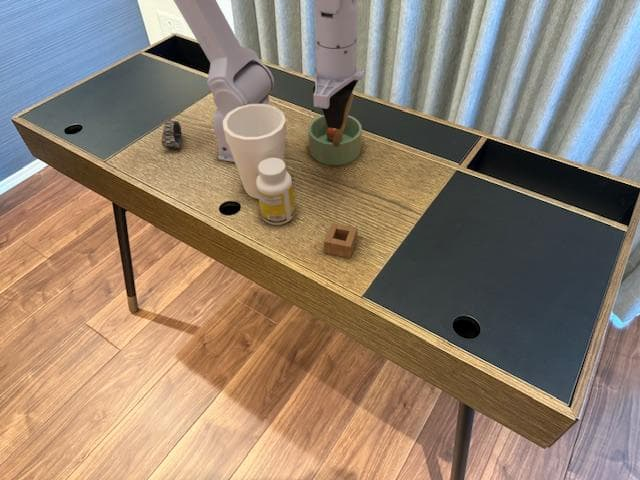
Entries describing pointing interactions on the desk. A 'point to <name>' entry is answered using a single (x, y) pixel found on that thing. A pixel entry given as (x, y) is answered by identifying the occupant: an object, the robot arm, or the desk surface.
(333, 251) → the stand
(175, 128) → the wristwatch
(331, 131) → the bead
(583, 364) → the desk surface
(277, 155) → the foam cup
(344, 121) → the stick
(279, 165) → the supplement bottle
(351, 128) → the bowl
